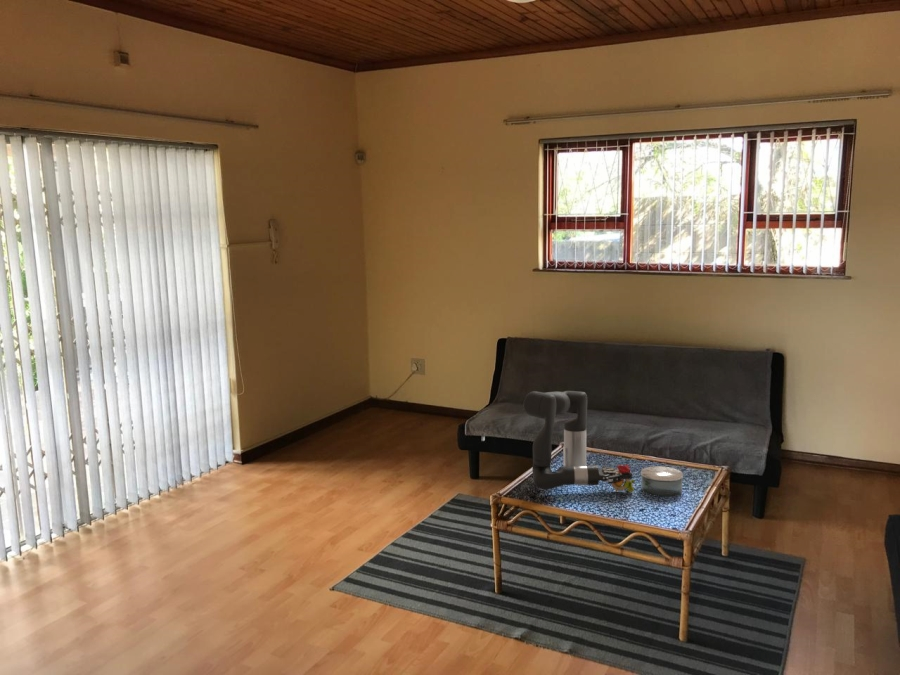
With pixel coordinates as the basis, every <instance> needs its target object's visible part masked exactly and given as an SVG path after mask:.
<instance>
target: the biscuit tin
mask: <svg viewBox="0 0 900 675" xmlns="http://www.w3.org/2000/svg"><path fill="white" fill-rule="evenodd" d="M640 474H641V485H640V486H641V491H642V492H643V491H644V492H643V493H644V494H646V495H649V494H651V495H650V496H653V495H655V496H654V497H659V496H661V498H671V497H673V498H674V497H678V496H680V495H681V494H682V493H683V477H684V473H683V472H682V470H679V469H677V468H674V467H668V466H661V465H659V466H648V467H643V468H642V469H641V471H640Z"/></svg>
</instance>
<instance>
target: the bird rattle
mask: <svg viewBox="0 0 900 675" xmlns="http://www.w3.org/2000/svg"><path fill="white" fill-rule="evenodd" d="M616 468H617V470H619V472H616V473H629V472H630V473H631V469H630V467H629V465H628V464H625V465H624V464H623V465H622V464H618V465H617V466H616ZM613 475H614V474H613ZM617 478H618V477H617ZM635 482H636V481H635V480H634V479H632V480H630V479H622V480H621V481H620V482H616V483H611V484H610V485H611V487H612V488H613V489H614V491H615V492H619V491H624V490H626V489H627V492H628V493H630V492H631V493H632V492H634V491H635V489H634V487H633V484H635Z"/></svg>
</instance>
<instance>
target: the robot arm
mask: <svg viewBox="0 0 900 675" xmlns="http://www.w3.org/2000/svg"><path fill="white" fill-rule="evenodd" d="M522 402H523V403H522V405H523V410H524V412H525V413H526V414H527V416H531V417H535V418H538V419H544V425H543V427H542V429H541V430H540V431H539V432H538V434H537V435H536V437H535V438H534V439H533V443H532V476H533V477H532V479H533V484H534V485H535V487H537V488H538V489H540V490H551V489H554V488H558V487H561V486H599V483H600V481H601V482H604V483H605V482H607V484H610V485H611V483H616V482H620V481H621V480H622V479H624V480H625V479H629V480H630V479H632V478H633V474H632V472H631V471H630V472H629V473H616V472H619V470H618V468H617V467H612V466H611V467H610V466H602V467H601V468H599V467H598V465H597V464H592V465H591V464H587V425H588V424H587V421H588V395H587V393H586V392H585V391H575V390H564V391H559V390H558V391H557V390H556V391H548V392H547V391H546V392H542V391H536V390H533V391H530V392H528V393H527V394H526V395H525V398H524V400H523V401H522ZM565 413H568V414H577V416H576V417H575V418H572V419H568V420H565V422H564V423H563V445H562V446H563V449H562V450H563V451H562V454H563V455H562V456H563V457H562V458H563V461H562V462H563V466H560V467H558V469H557V471H556V472H552V471H551V462H552V442H553V441H552V439H553V435H554V434H553V433H554V430H555V429H554V428H555V420H556V416H561V415H564V414H565ZM613 474H614V475H613ZM617 477H618V478H617ZM632 480H633V479H632Z"/></svg>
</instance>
